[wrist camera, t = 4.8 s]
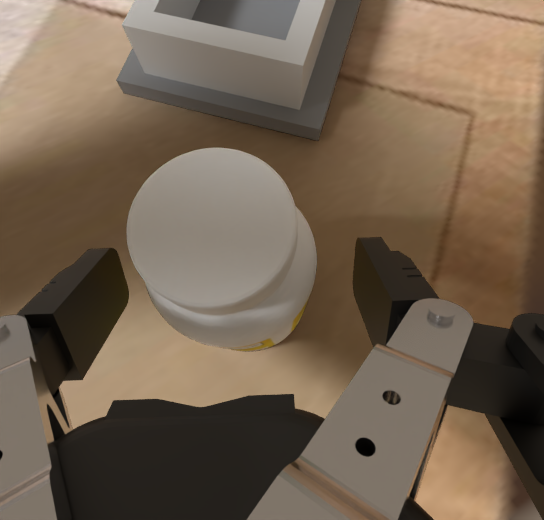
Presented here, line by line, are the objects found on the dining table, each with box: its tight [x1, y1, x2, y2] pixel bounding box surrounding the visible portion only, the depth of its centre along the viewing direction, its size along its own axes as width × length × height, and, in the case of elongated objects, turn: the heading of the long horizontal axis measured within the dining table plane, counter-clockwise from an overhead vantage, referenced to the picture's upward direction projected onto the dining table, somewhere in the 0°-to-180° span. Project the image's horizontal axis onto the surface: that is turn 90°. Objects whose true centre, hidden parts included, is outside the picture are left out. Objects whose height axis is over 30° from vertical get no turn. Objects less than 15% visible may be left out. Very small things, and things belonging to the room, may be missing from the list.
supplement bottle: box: [127, 147, 317, 352], centre depth 13 cm, size 5×5×10 cm
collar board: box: [116, 0, 361, 141], centre depth 20 cm, size 12×11×4 cm
